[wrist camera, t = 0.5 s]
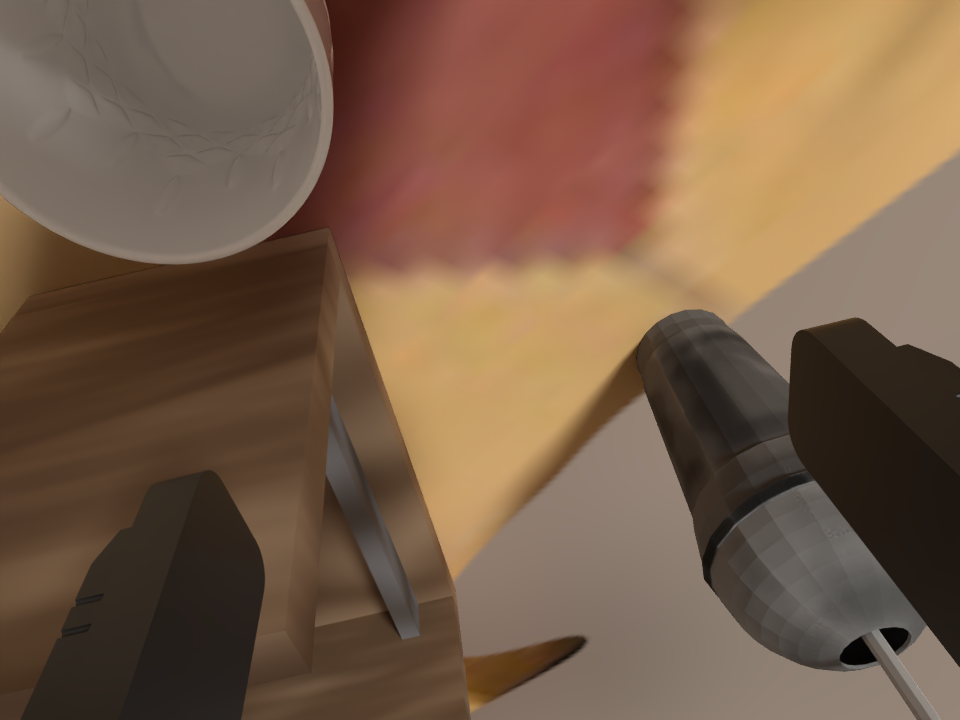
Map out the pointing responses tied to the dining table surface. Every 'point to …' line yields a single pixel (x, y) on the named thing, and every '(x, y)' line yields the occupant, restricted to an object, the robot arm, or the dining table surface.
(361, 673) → the wooden u-shaped holder
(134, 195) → the white cup
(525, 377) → the dining table surface
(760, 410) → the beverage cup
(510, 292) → the dining table surface
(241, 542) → the robot arm
